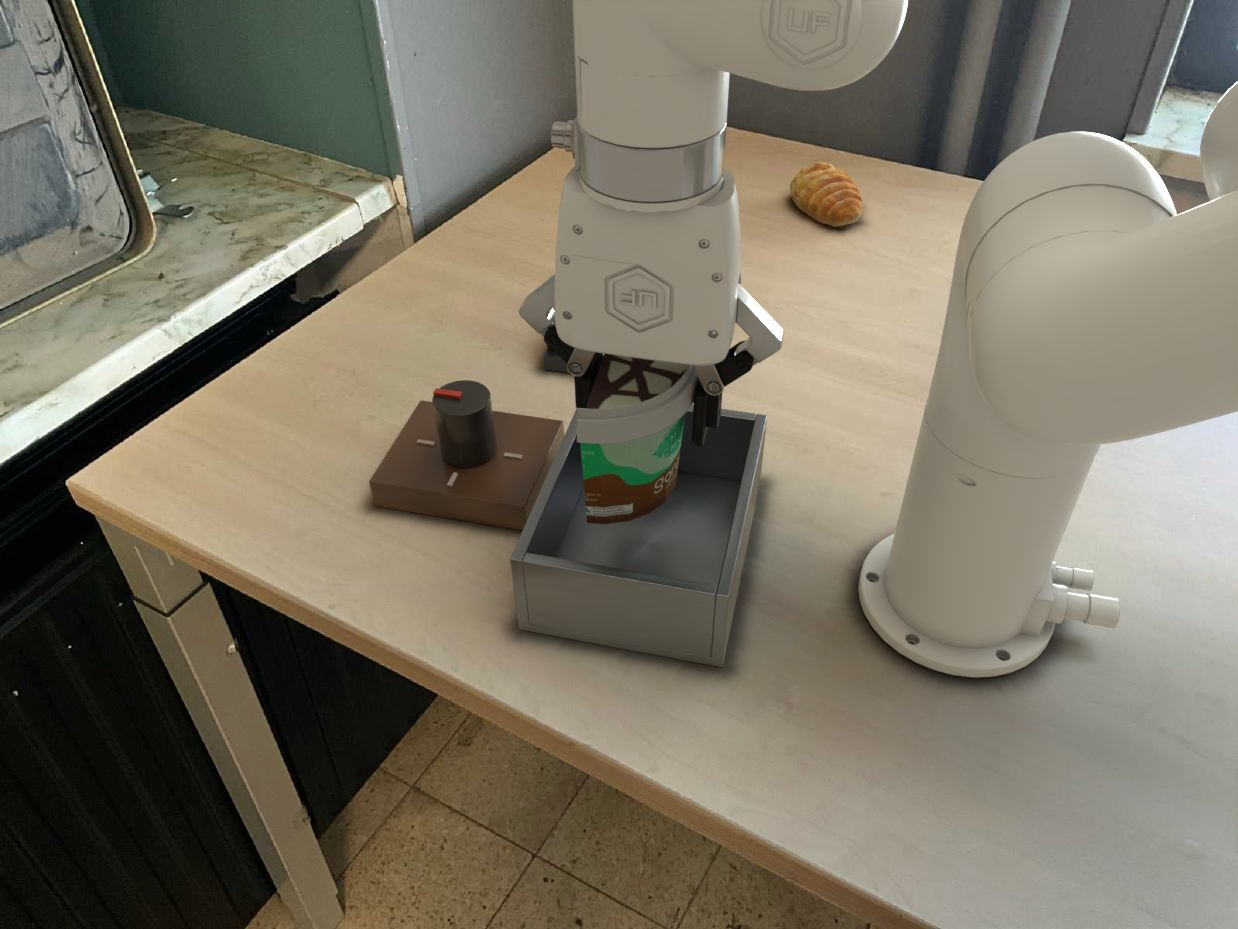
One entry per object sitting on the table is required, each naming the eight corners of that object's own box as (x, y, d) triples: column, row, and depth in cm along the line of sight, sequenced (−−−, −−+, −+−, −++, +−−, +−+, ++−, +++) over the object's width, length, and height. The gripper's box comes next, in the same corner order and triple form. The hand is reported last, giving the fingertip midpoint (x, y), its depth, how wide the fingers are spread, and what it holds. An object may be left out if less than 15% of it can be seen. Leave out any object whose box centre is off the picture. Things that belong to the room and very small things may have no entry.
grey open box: (759, 484, 76) (767, 414, 72) (722, 668, 63) (729, 597, 59) (587, 458, 79) (584, 389, 74) (518, 629, 66) (509, 559, 61)
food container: (678, 553, 61) (684, 428, 55) (581, 539, 62) (575, 414, 56) (706, 428, 70) (714, 307, 64) (620, 417, 71) (619, 297, 65)
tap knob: (504, 436, 77) (497, 380, 73) (486, 471, 74) (478, 415, 70) (453, 428, 78) (444, 373, 74) (433, 463, 74) (422, 407, 71)
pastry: (877, 224, 106) (883, 191, 104) (820, 235, 105) (824, 202, 102) (836, 187, 113) (840, 154, 110) (781, 196, 111) (784, 164, 109)
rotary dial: (565, 444, 80) (563, 418, 78) (527, 531, 73) (524, 505, 71) (424, 423, 82) (420, 398, 80) (374, 506, 75) (368, 479, 73)
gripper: (467, 168, 50) (499, 441, 62) (814, 203, 47) (777, 484, 59) (514, 110, 56) (535, 371, 67) (827, 138, 52) (791, 407, 64)
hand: (647, 421), depth 63 cm, fingers closed on food container, 6 cm apart
